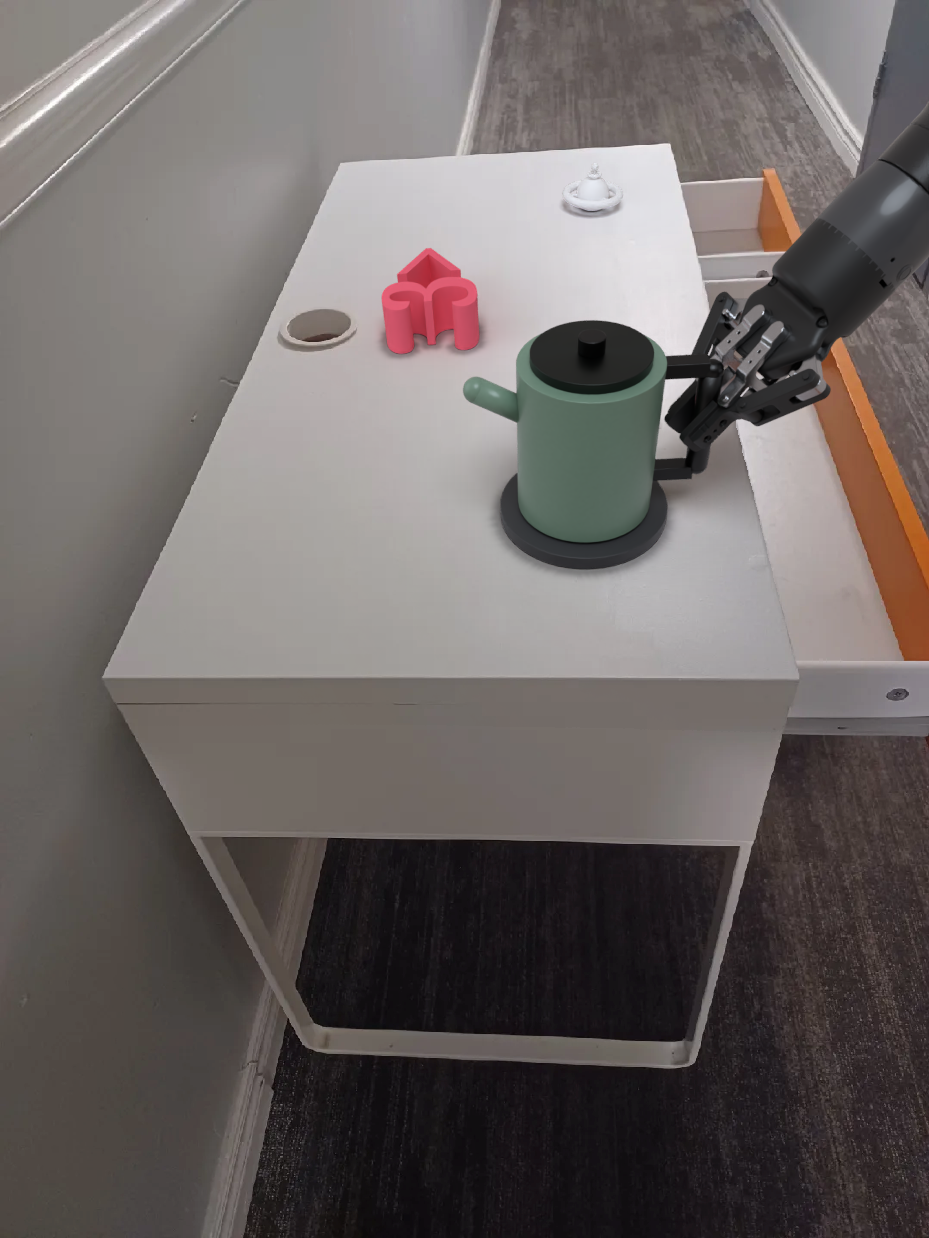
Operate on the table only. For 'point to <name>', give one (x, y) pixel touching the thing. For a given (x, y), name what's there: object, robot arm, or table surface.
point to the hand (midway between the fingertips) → (680, 435)
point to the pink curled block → (430, 304)
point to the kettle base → (582, 552)
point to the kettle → (593, 425)
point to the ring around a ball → (592, 192)
